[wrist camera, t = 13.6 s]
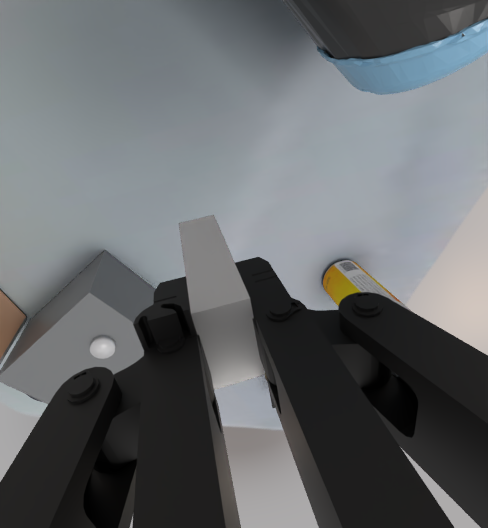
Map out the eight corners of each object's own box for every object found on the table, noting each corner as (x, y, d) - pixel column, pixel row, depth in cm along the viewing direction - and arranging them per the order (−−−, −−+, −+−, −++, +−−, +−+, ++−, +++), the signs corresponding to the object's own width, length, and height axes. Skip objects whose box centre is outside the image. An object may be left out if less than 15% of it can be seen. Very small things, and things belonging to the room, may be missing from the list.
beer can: (323, 298, 51) (378, 367, 38) (318, 265, 48) (376, 328, 35) (359, 285, 52) (425, 350, 39) (356, 252, 49) (427, 310, 36)
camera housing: (104, 249, 40) (87, 296, 31) (165, 297, 45) (166, 350, 36) (20, 329, 43) (-20, 396, 33) (85, 366, 47) (67, 433, 38)
